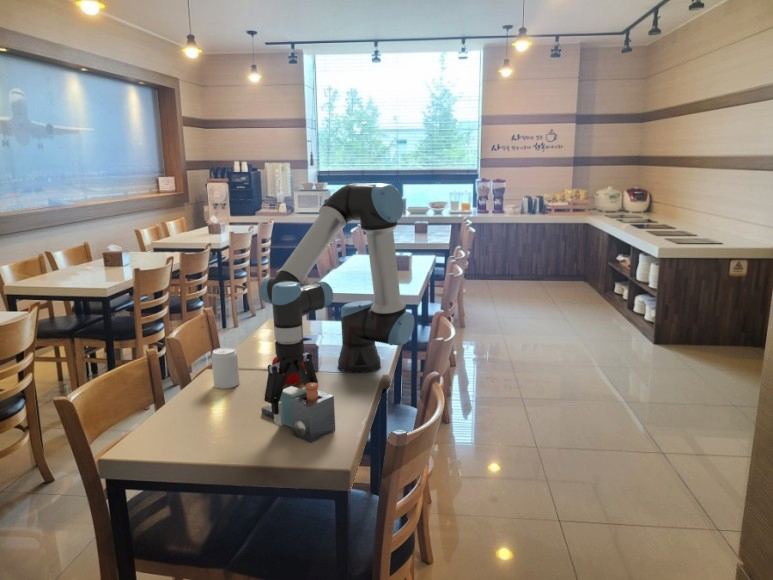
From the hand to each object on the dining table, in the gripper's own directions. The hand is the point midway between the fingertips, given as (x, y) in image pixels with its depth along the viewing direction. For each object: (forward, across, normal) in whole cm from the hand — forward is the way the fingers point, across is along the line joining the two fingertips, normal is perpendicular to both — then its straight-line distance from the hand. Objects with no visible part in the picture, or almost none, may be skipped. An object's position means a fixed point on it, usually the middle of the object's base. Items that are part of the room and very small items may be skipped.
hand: (293, 417), depth 155 cm
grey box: (+2, 0, +8) cm, 8 cm away
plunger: (-6, 0, +8) cm, 10 cm away
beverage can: (+2, -6, -40) cm, 40 cm away
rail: (+2, 0, -4) cm, 5 cm away
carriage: (+2, 0, 0) cm, 2 cm away
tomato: (+2, -21, -25) cm, 33 cm away
